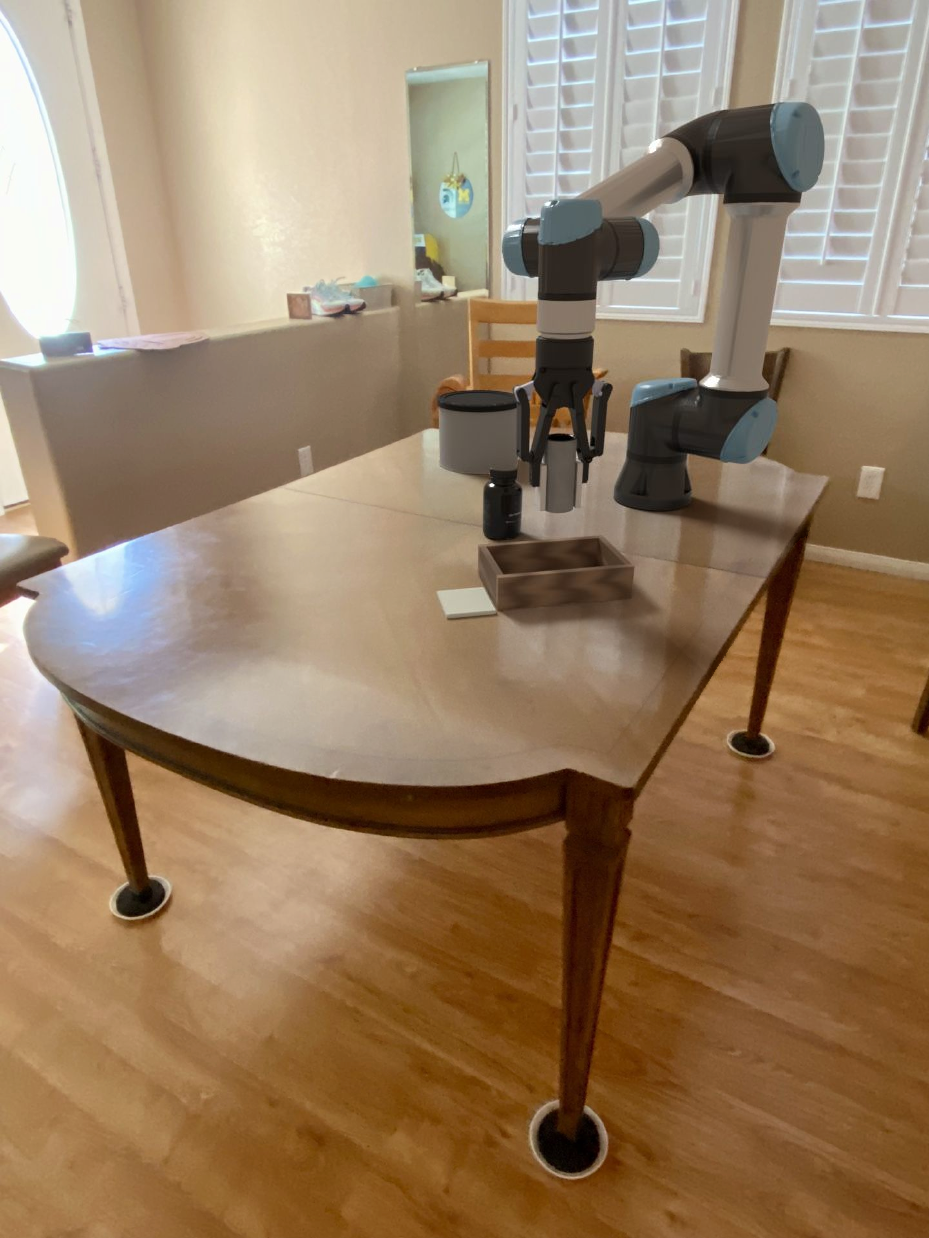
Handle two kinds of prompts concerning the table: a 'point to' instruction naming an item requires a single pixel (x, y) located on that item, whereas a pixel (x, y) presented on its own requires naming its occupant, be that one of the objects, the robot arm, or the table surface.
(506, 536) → the supplement bottle
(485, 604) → the coaster
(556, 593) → the box frame
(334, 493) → the table surface
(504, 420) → the container
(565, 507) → the gray cylindrical cup
